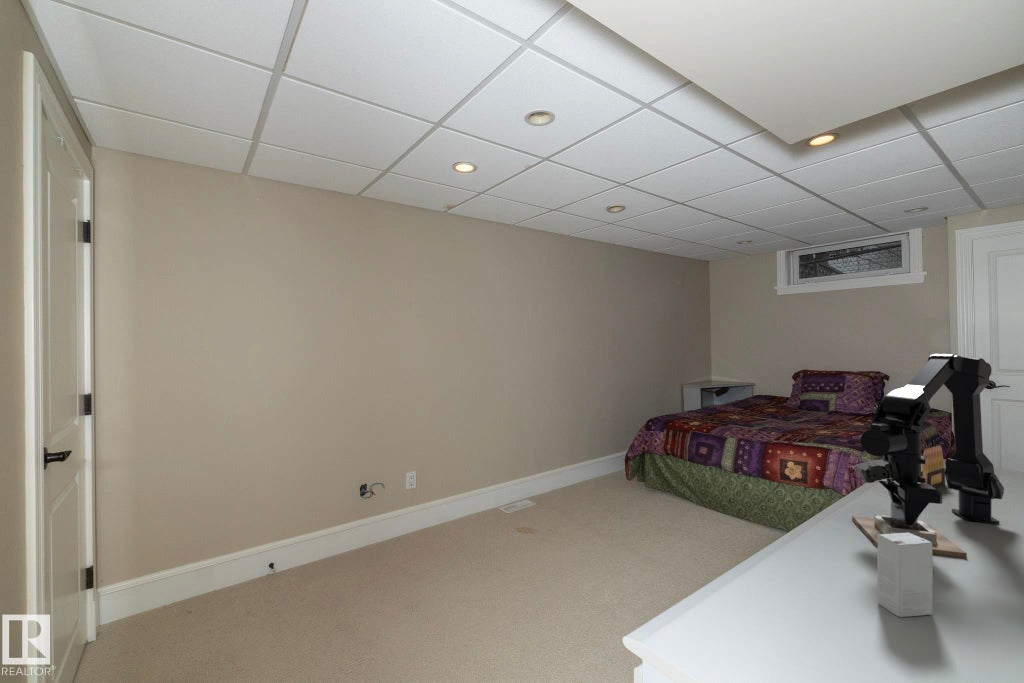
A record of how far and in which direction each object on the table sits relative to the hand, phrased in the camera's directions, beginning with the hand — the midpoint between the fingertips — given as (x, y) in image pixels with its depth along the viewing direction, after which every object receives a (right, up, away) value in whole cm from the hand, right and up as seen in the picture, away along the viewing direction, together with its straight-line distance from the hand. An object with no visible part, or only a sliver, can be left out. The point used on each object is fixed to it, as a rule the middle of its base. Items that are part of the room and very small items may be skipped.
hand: (904, 520), depth 101 cm
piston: (0, -2, 0) cm, 2 cm away
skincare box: (-23, -5, -27) cm, 35 cm away
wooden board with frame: (0, -4, 0) cm, 4 cm away
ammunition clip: (+37, -3, +33) cm, 50 cm away
